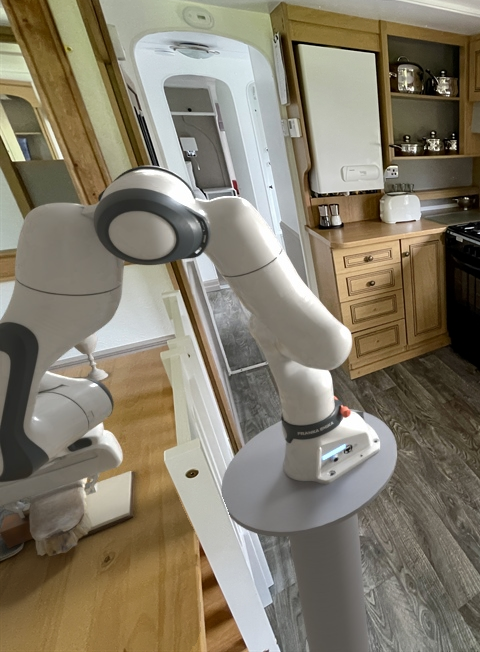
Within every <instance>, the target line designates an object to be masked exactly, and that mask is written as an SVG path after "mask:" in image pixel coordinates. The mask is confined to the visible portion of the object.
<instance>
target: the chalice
mask: <svg viewBox="0 0 480 652" xmlns="http://www.w3.org/2000/svg"><path fill="white" fill-rule="evenodd" d="M97 344H98V336H97V332H95V333H94V334H92V335H90V336H89V337H87V338H86V339H84V340H83V341H82V342H80V343H79V344H77V345H76V346H74V347H73V348H74V349H76V350H77V351H78V352H80V353H81V354H82V355H86V356H87V359H86V360H87V361H88V362H89V364H88V366H89V367H91V370H90V371H88V373H87V377H86V378H90V379H94V380H97V381H103V380H105V379H107V378H108V377H109V373H107V372H106V371H104V369H102V368H97V362H95V357H94V356H93V355H92V353H94V352H95V351H96V348H97Z"/></svg>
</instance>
